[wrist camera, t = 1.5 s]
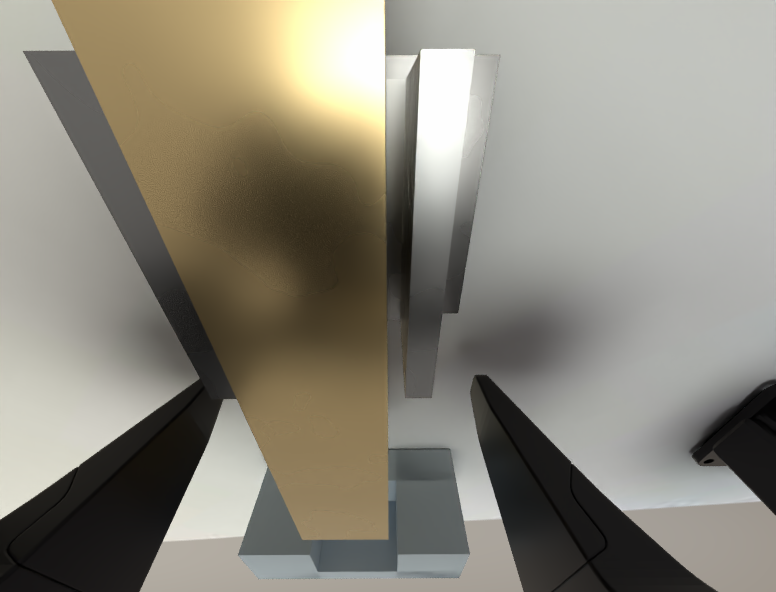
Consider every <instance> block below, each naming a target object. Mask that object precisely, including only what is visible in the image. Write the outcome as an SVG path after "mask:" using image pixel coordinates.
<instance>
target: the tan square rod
mask: <svg viewBox="0 0 776 592" xmlns="http://www.w3.org/2000/svg"><path fill="white" fill-rule="evenodd" d="M52 2H53V4H54V6H55V9H56V11H57V13H58V15H59V17H60V19H61V22H62V24H63V26H64V28H65V30H66V32H67V34H68V37H69V39H70V41H71V43H72V45H73V47H74V50H75V52H76V54H77V56H78V58H79V60H80V62H81V65H82V67H83V69H84V71H85V73H86V75H87V78H88V80H89V82H90V84H91V86H92V88H93V90H94V93H95V95H96V97H97V99H98V101H99V103H100V105H101V108H102V110H103V112H104V114H105V116H106V118H107V121H108V123H109V125H110V127H111V129H112V131H113V133H114V136H115V138H116V140H117V142H118V144H119V146H120V149H121V151H122V153H123V155H124V157H125V159H126V161H127V164H128V166H129V168H130V170H131V172H132V174H133V177H134V179H135V181H136V183H137V185H138V187H139V189H140V192H141V194H142V196H143V198H144V200H145V202H146V205H147V207H148V209H149V211H150V213H151V215H152V217H153V220H154V222H155V224H156V226H157V228H158V230H159V233H160V235H161V237H162V239H163V241H164V243H165V245H166V248H167V250H168V252H169V254H170V256H171V258H172V261H173V263H174V265H175V267H176V269H177V271H178V273H179V276H180V278H181V280H182V282H183V284H184V286H185V288H186V291H187V293H188V295H189V297H190V299H191V301H192V304H193V306H194V308H195V310H196V312H197V314H198V316H199V319H200V321H201V323H202V325H203V327H204V329H205V332H206V334H207V336H208V338H209V340H210V342H211V344H212V347H213V349H214V351H215V353H216V355H217V357H218V360H219V362H220V364H221V366H222V368H223V370H224V372H225V375H226V377H227V379H228V381H229V383H230V385H231V388H232V390H233V392H234V394H235V396H236V398H237V400H238V403H239V405H240V407H241V409H242V411H243V413H244V416H245V418H246V420H247V422H248V424H249V426H250V428H251V431H252V433H253V435H254V437H255V439H256V441H257V444H258V446H259V448H260V450H261V452H262V454H263V456H264V459H265V461H266V463H267V465H268V467H269V469H270V471H271V474H272V476H273V478H274V480H275V482H276V484H277V487H278V489H279V491H280V493H281V495H282V497H283V499H284V502H285V504H286V506H287V508H288V510H289V512H290V515H291V517H292V519H293V521H294V523H295V525H296V527H297V530H298V532H299V534H300V536H301V538H302V540H389V538H388V344H387V191H386V38H385V0H52Z"/></svg>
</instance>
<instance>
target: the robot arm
mask: <svg viewBox="0 0 776 592" xmlns="http://www.w3.org/2000/svg"><path fill="white" fill-rule="evenodd" d="M470 395H471V401H472V407H473V412H474V418H475V423H476V429H477V434H478V439H479V443H480V447H481V450H482V453H483V457H484V460H485V463H486V467H487V470H488V473H489V477H490V480H491V484H492V487H493V490H494V494H495V497H496V500H497V504H498V507H499V510H500V514H501V517H502V520H503V524H504V527H505V530H506V534H507V537H508V541H509V544H510V547H511V551H512V554H513V557H514V561H515V564H516V567H517V571H518V574H519V577H520V581H521V584H522V587H523V591H524V592H718V591H716V590H715V589H713V588H712V587H710V586H708V585H707V584H706V583H704V582H703V581H701V580H700V579H699V578H697V577H696V576H695V575H693V574H692V573H691V572H689V571H688V570H687V569H686V568H685V567H683V566H682V565H681V564H680V563H679V562H678V561H676V560H675V559H674V558H673V557H672V556H671V555H670V554H669V553H667V552H666V551H665V550H664V549H663V548H662V547H661V546H660V545H659V544H657V543H656V542H655V541H654V540H653V539H652V538H651V537H649V535H647V534H646V533H645V532H644V531H643V530H642V529H641V528H640V527H638V526H637V525H636V524H635V523H634V522H633V521H632V520H631V519H629V517H627V516H626V515H625V514H624V513H623V512H622V511H621V510H620V509H619V508H618V507H616V506H615V505H614V504H613V503H612V502H611V501H610V500H609V499H608V498H607V497H606V496H605V495H604V494H602V493H601V492H600V491H599V490H598V489H597V488H596V487H595V486H594V485H593V484H592V483H591V482H590V481H589V480H588V479H587V478H586V477H585V476H584V475H583V474H582V473H581V472H580V471H579V469H578V468H577V467H576V466H575V465H574V464H571V461H570V460H569V459H568V458H567V457H566V456H565V455H564V454H563V453H562V452H561V451H560V450H559V449H558V448H557V447H556V446H555V445H554V444H553V443H552V442H551V441H550V440H549V439H548V438H547V437H546V436H545V435H544V434H543V433H542V431H541V430H540V429H539V428H538V427H537V426H536V425H535V424H534V423H533V422H532V421H531V420H530V419H529V418H528V417H527V416H526V415H525V414H524V413H523V412H522V411H521V410H520V409H519V408H518V407H517V406H516V405H515V404H514V403H513V402H512V401H511V400H510V399H509V397H508V396H507V395H506V394H505V393H504V392H503V391H502V390H501V389H500V388H499V387H498V386H497V385H496V384H495V383H494V382H493V381H492V380H491V379H490V378H489V377H488V376H487V375H475V376H474V378H473V382H472V386H471V391H470ZM222 402H223V399H211V397H210V396H209V394H208V392H207V390H206V388H205V386H204V384H203V383H202V381H201V379H199V380H197V381H196V382H195V383H193V384H192V385H190V386H189V387H188V388H186V389H185V390H183V391H182V392H181V393H179V394H178V395H176V396H175V397H174V398H172V399H171V400H170V401H168V402H167V403H165V404H164V405H163V406H161V407H160V408H158V409H157V410H156V411H154V412H153V413H151V414H150V415H149V416H147V417H146V418H144V419H143V420H142V421H140V422H139V423H138V424H136V425H135V426H133V427H132V428H131V429H129V430H128V431H126V432H125V433H124V434H122V435H121V436H119V437H118V438H117V439H115V440H114V441H112V442H111V443H110V444H108V445H107V446H105V447H104V448H103V449H101V450H100V451H99V452H97V453H96V454H94V455H93V456H92V457H90V458H89V459H87V460H86V461H85V462H83V463H82V464H80V466H79V467H76V468H75V469H73V470H72V471H71V472H69V473H68V474H66V475H65V476H64V477H62V478H61V479H59V480H58V481H57V482H55V483H54V484H52V485H51V486H49V487H48V488H47V489H45V490H44V491H42V492H41V493H39V494H38V495H37V496H35V497H34V498H32V499H31V500H29V501H28V502H26V503H25V504H23V505H22V506H20V507H19V508H17V509H16V510H14V511H13V512H11V513H10V514H8V515H7V516H5V517H4V518H2V519H1V520H0V592H139V591H140V589H141V587H142V585H143V582H144V580H145V578H146V576H147V574H148V572H149V570H150V568H151V565H152V563H153V561H154V559H155V557H156V555H157V552H158V550H159V548H160V546H161V544H162V542H163V539H164V537H165V535H166V533H167V531H168V529H169V526H170V524H171V522H172V520H173V518H174V516H175V513H176V511H177V509H178V507H179V505H180V503H181V500H182V498H183V496H184V494H185V492H186V490H187V487H188V485H189V483H190V481H191V479H192V477H193V474H194V472H195V470H196V468H197V466H198V464H199V461H200V459H201V457H202V455H203V453H204V451H205V448H206V446H207V444H208V441H209V439H210V436H211V433H212V431H213V428H214V425H215V422H216V419H217V416H218V413H219V410H220V407H221V405H222ZM692 458H693V459H694V460H695V461H696V462H697V463H698V464H699V465H700V466H728V467H729V468H730V469H731V470H732V471H733V472H734V473H735V474H736V475H737V476H738V477H739V478H740V479H741V480H742V481H743V482H744V483H745V484H746V485H747V487H748V488H749V489H750V490H751V491H752V492H753V493H754V494H755V495H756V496H757V497H758V498H759V499H760V500H761V501H762V502H763V503H764V504H765V505H766V506H767V507H768V508H769V509H770V510H771V511H772V512H773V513H774V514H775V515H776V384H774V385H772V386H770V387H768V388H766V389H765V390H763V391H762V392H761V393H760V394H759V395H758V396H757V397H756V398H755V399H753V400H752V401H751V402H750V403H749V404H748V405H747V406H746V407H745V408H744V409H742V410H741V411H740V412H739V413H738V414H737V415H736V416H735V417H734V418H733V419H731V420H730V421H729V422H728V423H727V424H726V425H725V426H724V427H723V428H721V429H720V430H719V431H718V432H717V433H716V434H715V435H714V436H713V437H712V438H710V439H709V440H708V441H707V442H706V443H705V444H704V445H703V446H702V447H701V448H699V449H698V450H697V451H696V452H695V453H694V454H693V455H692Z"/></svg>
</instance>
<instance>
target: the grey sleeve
mask: <svg viewBox="0 0 776 592" xmlns="http://www.w3.org/2000/svg"><path fill="white" fill-rule="evenodd" d="M23 52H24V54H25V56H26V58H27V60H28V61H29V63H30V65H31V67H32V69H33V71H34V72H35V74H36V76H37V78H38V80H39V82H40V84H41V85H42V87H43V89H44V91H45V93H46V95H47V96H48V98H49V100H50V102H51V104H52V106H53V108H54V109H55V111H56V113H57V115H58V117H59V119H60V120H61V122H62V124H63V126H64V128H65V130H66V132H67V133H68V135H69V137H70V139H71V141H72V143H73V144H74V146H75V148H76V150H77V152H78V154H79V156H80V157H81V159H82V161H83V163H84V165H85V167H86V168H87V170H88V172H89V174H90V176H91V178H92V180H93V181H94V183H95V185H96V187H97V189H98V191H99V192H100V194H101V196H102V198H103V200H104V202H105V204H106V205H107V207H108V209H109V211H110V213H111V215H112V216H113V218H114V220H115V222H116V224H117V226H118V228H119V229H120V231H121V233H122V235H123V237H124V239H125V240H126V242H127V244H128V246H129V248H130V250H131V252H132V253H133V255H134V257H135V259H136V261H137V263H138V264H139V266H140V268H141V270H142V272H143V274H144V276H145V277H146V279H147V281H148V283H149V285H150V287H151V288H152V290H153V292H154V294H155V296H156V298H157V300H158V301H159V303H160V305H161V307H162V309H163V311H164V312H165V314H166V316H167V318H168V320H169V322H170V324H171V325H172V327H173V329H174V331H175V333H176V335H177V336H178V338H179V340H180V342H181V344H182V346H183V348H184V349H185V351H186V353H187V355H188V357H189V359H190V360H191V362H192V364H193V366H194V368H195V370H196V372H197V373H198V375H199V377H200V379H201V381H202V383H203V384H204V386H205V388H206V390H207V392H208V394H209V396H210V397H211V399H237V398H236V396H235V394H234V392H233V390H232V388H231V385H230V383H229V381H228V379H227V377H226V375H225V372H224V370H223V368H222V366H221V364H220V362H219V360H218V357H217V355H216V353H215V351H214V349H213V347H212V344H211V342H210V340H209V338H208V336H207V334H206V332H205V329H204V327H203V325H202V323H201V321H200V319H199V316H198V314H197V312H196V310H195V308H194V306H193V304H192V301H191V299H190V297H189V295H188V293H187V291H186V288H185V286H184V284H183V282H182V280H181V278H180V276H179V273H178V271H177V269H176V267H175V265H174V263H173V261H172V258H171V256H170V254H169V252H168V250H167V248H166V245H165V243H164V241H163V239H162V237H161V235H160V233H159V230H158V228H157V226H156V224H155V222H154V220H153V217H152V215H151V213H150V211H149V209H148V207H147V205H146V202H145V200H144V198H143V196H142V194H141V192H140V189H139V187H138V185H137V183H136V181H135V179H134V177H133V174H132V172H131V170H130V168H129V166H128V164H127V161H126V159H125V157H124V155H123V153H122V151H121V149H120V146H119V144H118V142H117V140H116V138H115V136H114V133H113V131H112V129H111V127H110V125H109V123H108V121H107V118H106V116H105V114H104V112H103V110H102V108H101V105H100V103H99V101H98V99H97V97H96V95H95V93H94V90H93V88H92V86H91V84H90V82H89V80H88V78H87V75H86V73H85V71H84V69H83V67H82V65H81V62H80V60H79V58H78V56H77V54H76V52H75V51H23ZM499 59H500V55H475V49H421V50H420V52H419V54H418V55H386V191H387V320H400V326H401V342H402V357H403V373H404V388H405V398H432V390H433V382H434V374H435V366H436V358H437V350H438V342H439V334H440V326H441V318H442V313H458V310H459V304H460V298H461V292H462V286H463V279H464V273H465V267H466V261H467V255H468V249H469V243H470V237H471V231H472V224H473V218H474V212H475V206H476V200H477V194H478V188H479V182H480V176H481V169H482V163H483V157H484V151H485V145H486V139H487V133H488V127H489V120H490V114H491V108H492V102H493V96H494V90H495V84H496V78H497V72H498V65H499Z"/></svg>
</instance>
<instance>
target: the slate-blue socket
mask: <svg viewBox="0 0 776 592" xmlns="http://www.w3.org/2000/svg"><path fill="white" fill-rule="evenodd" d="M388 538H389V540H302V538H301V536H300V534H299V532H298V530H297V527H296V525H295V523H294V521H293V519H292V517H291V515H290V512H289V510H288V508H287V506H286V504H285V502H284V499H283V497H282V495H281V493H280V491H279V489H278V487H277V484H276V482H275V480H274V478H273V476H272V474H271V471H270V469H269V467H268V468H267V471H266V474H265V477H264V480H263V483H262V486H261V489H260V492H259V495H258V498H257V501H256V503H255V506H254V509H253V512H252V515H251V518H250V521H249V524H248V527H247V530H246V533H245V536H244V539H243V542H242V545H241V548H240V551H239V554H238V556H239V557H240V558H241V559H242V561H243V562H244V563H245V564H246V565H247V566H248V567H249V569H250V570H251V571H252V572H253V573H254V574H255V575H256V577H257V578H258V579H341V578H342V579H345V578H346V579H347V578H459V577H460V575H461V572H462V570H463V568H464V566H465V564H466V562H467V559H468V557H469V555H470V552H469V547H468V542H467V537H466V531H465V526H464V520H463V515H462V510H461V505H460V499H459V494H458V489H457V483H456V478H455V473H454V468H453V462H452V457H451V452H450V449H419V450H388Z"/></svg>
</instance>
